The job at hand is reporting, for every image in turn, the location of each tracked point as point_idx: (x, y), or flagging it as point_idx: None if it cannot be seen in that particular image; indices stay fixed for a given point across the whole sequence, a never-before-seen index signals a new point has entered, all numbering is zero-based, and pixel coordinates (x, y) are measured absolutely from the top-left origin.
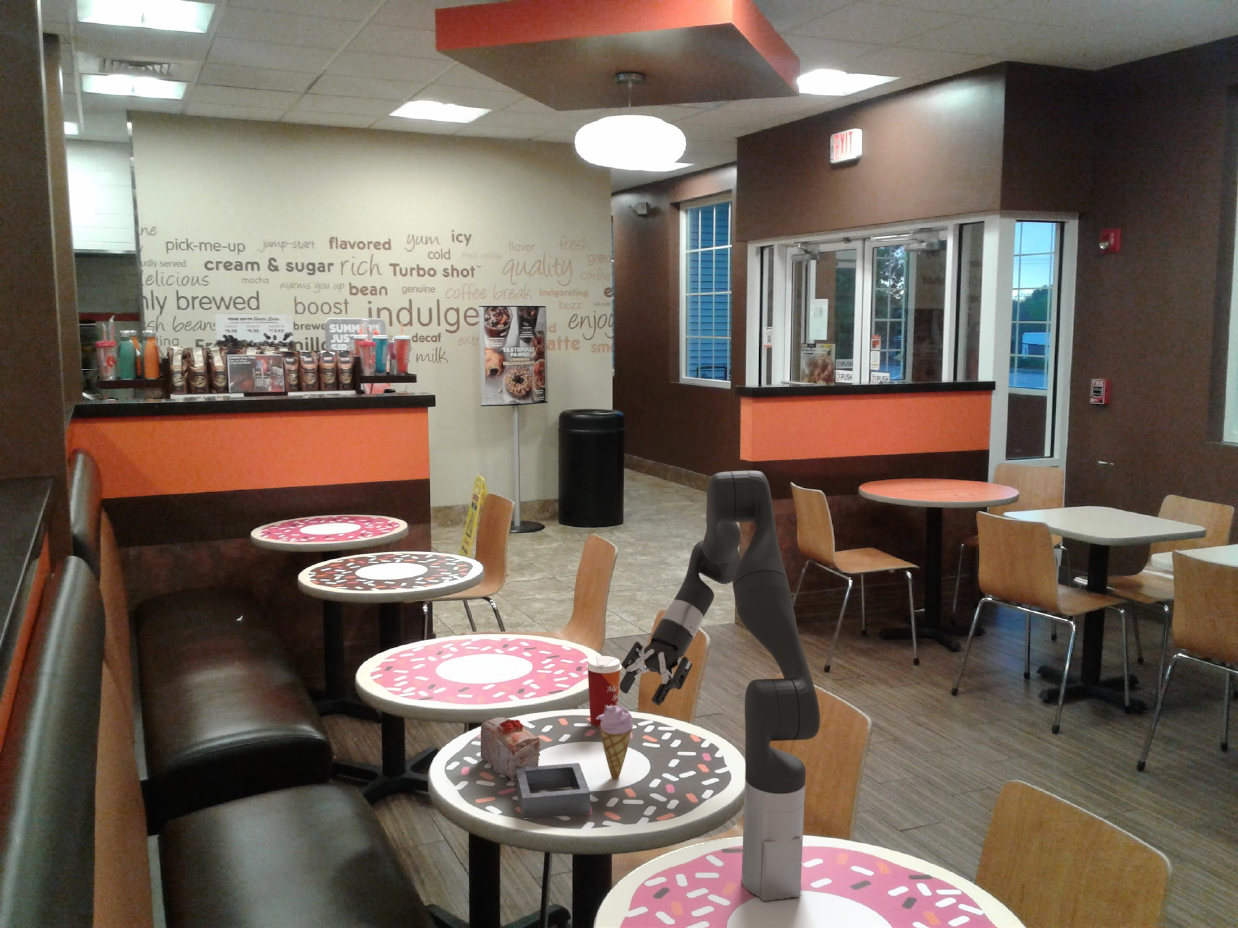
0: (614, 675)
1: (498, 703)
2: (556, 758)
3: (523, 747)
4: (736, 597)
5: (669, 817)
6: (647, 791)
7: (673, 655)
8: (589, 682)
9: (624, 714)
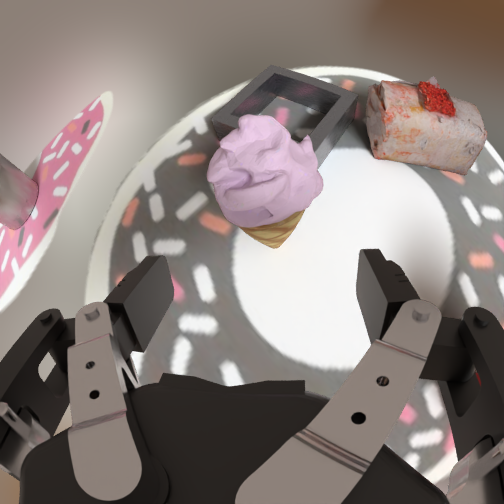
0: None
1: None
2: (410, 218)
3: (374, 91)
4: None
5: (125, 214)
6: (193, 247)
7: (33, 479)
8: None
9: (220, 159)
